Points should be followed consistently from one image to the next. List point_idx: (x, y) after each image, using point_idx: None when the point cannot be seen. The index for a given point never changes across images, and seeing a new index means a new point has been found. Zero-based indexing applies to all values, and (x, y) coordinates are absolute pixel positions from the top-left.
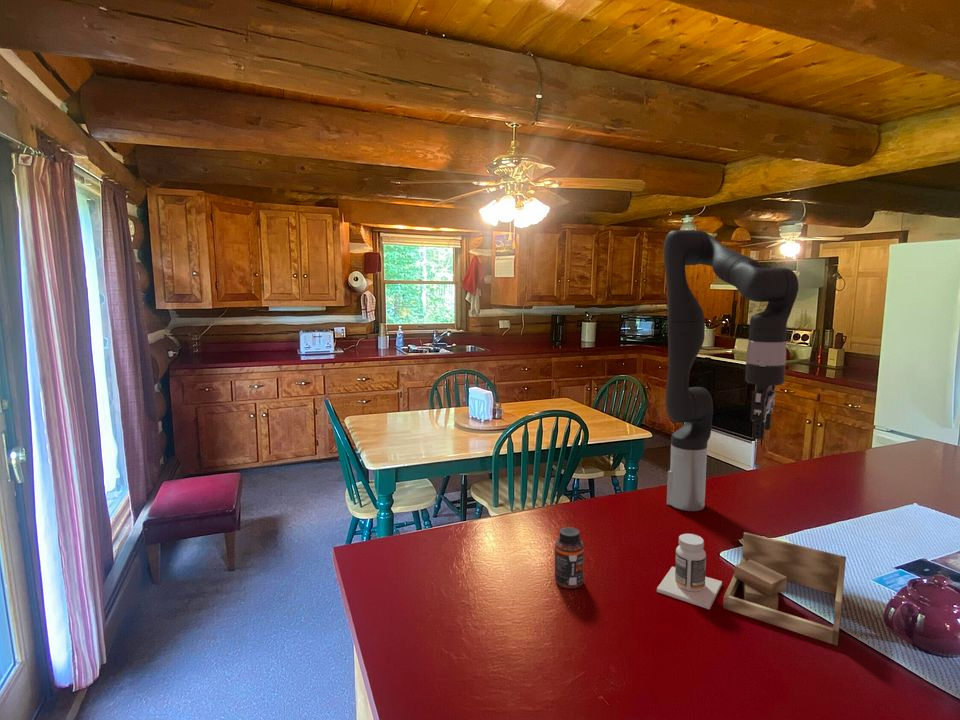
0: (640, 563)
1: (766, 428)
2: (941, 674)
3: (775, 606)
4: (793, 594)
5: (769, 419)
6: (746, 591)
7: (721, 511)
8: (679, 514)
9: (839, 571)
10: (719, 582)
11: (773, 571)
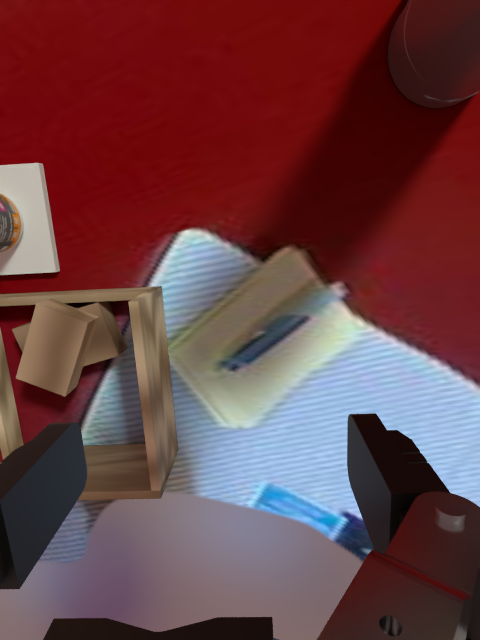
0: (16, 88)
1: (350, 461)
2: (52, 554)
3: None
4: (121, 384)
5: (371, 533)
6: (15, 329)
7: (446, 160)
8: (354, 58)
9: (85, 492)
10: (48, 269)
11: (68, 372)
